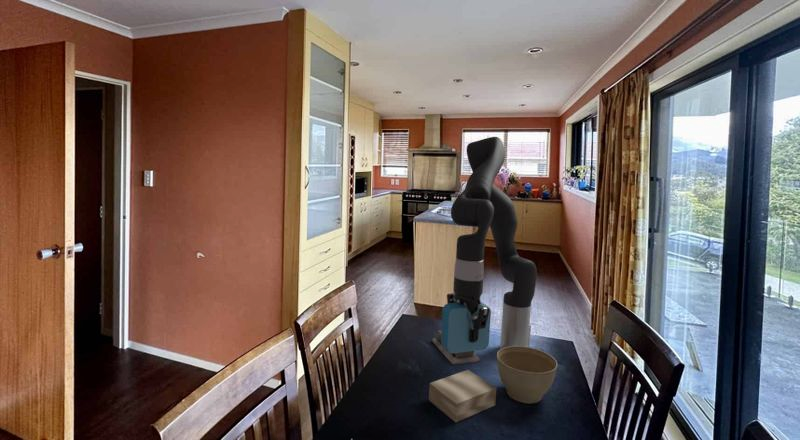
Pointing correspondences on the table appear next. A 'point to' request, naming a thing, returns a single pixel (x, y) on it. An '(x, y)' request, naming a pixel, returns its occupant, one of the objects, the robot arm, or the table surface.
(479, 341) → the blue product box
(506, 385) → the planter bowl
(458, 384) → the stand
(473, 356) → the packaged product
